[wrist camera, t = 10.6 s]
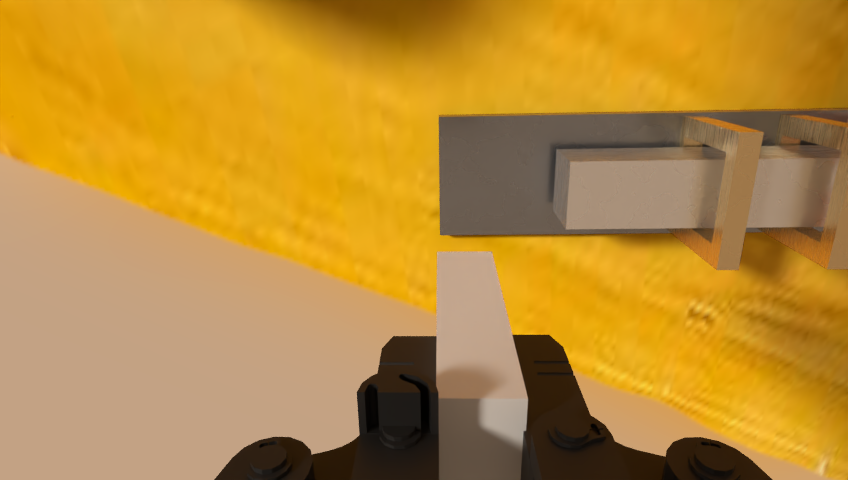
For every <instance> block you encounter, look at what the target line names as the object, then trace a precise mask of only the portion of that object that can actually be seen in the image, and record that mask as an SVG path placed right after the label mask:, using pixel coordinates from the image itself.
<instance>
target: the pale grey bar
mask: <svg viewBox="0 0 848 480" xmlns="http://www.w3.org/2000/svg"><path fill="white" fill-rule="evenodd" d="M840 155H841V150H838V149H834V148H830V147H826V146H822V145H800V146H761V150H760V156H759V161H758V166H757V172H756V177H755V183H754V188H753V194H752V199H751V205H750V210H749V216H748V221H747V226H746V228H760V227H824V224H825V219H826V215H827V211H828V207H829V202H830V198H831V194H832V189H833V185H834V181H835V176H836V172H837V168H838V164H839V159H840ZM725 158H726V152H725V151H722V150H719V149H717V148H714V147H666V148H599V149H556V166H555V183H554V199H553V211H554V213H555V214H556V216H557V217H558V219H559V220H560V221H561V223H562V224H563V226H564V227H565V229H658V228H714V226H715V219H716V213H717V207H718V201H719V195H720V189H721V183H722V176H723V170H724V164H725Z"/></svg>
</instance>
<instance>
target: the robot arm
mask: <svg viewBox="0 0 848 480" xmlns="http://www.w3.org/2000/svg"><path fill="white" fill-rule="evenodd" d="M357 401H358V416H359V431H360V435H359V436H358V437H357V438H356V439H355V440H353V441H352V442H350V443H349V444H346V445H344V446H343V447H339V448H336V449H334V450H330V451H326V452H322V453H317V454H313V455H311V450H310V449H309V448H308V447H307V446H306V445H305V444H304V443H303V442H301V441H299V440H296V439H293V438H291V437H272V438H268V439H263V440H259V441H257V442H255V443H253V444H251V445H248V446H247V447H244V448H243V449H242V450H241V451H240V452H239V453H238V454H237V455H235V456H234V457H233V458H232V459H231V460H230V462H229V463H228V464H227V465H226V466H225V468H224V469H223V470H222V471H221V472H220V474H219V475H218V476H217V477H216V478H215V480H772V479H771V478H770V477H769V476H768V475H767V474H766V473H765V472H764V471H762V470H761V469H760V468H759V467H758V466H757V465H756V464H755V463H754V462H753V461H752V460H751V459H749V458H748V457H746V456H745V455H744V454H742V453H741V452H740V451H738V450H737V449H735V448H733V447H730V446H728V445H726V444H724V443H721V442H719V441H715V440H711V439H706V438H701V437H699V438H698V437H694V438H683V439H680V440H678V441H675V442H673V443H672V444H671V446H670V447H669V448H668V449H667V453H666V457H664V456H659V455H655V454H651V453H647V452H643V451H638V450H635V449H632V448H628V447H625V446H623V445H621V444H619V443H617V442H615V441H614V439H613V436H612V434H611V433H610V432H609V430H608V429H607V428H606V426H605V425H604V424H603V423H601V422H600V421H598V420H597V419H595V418H594V417H592V416H591V415H590V413H589V411H588V408H587V406H586V403H585V401H584V398H583V396H582V393H581V391H580V388H579V386H578V383H577V381H576V378H575V376H573V371H572V368H571V366H570V364H569V361H568V358H567V356H566V353H565V351H564V348H563V347H562V346H561V345H560V344H559V343H558V342H557V341H555V340H554V339H553V338H552V337H551V336H550V335H512V332H511V328H510V324H509V319H508V315H507V311H506V307H505V303H504V299H503V295H502V291H501V287H500V283H499V279H498V275H497V271H496V267H495V263H494V259H493V255H492V252H437V336H393V337H392V338H391V339H390V341H389V342H388V343H387V344H386V345H385V346H384V347H383V348H382V352H381V357H380V365H379V368H378V374H375V375H373V376H371V377H370V378H369V379H367V380H366V381H364V382H363V383H362V384H361V386H360V388H359V390H358V391H357Z"/></svg>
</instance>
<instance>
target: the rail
mask: <svg viewBox="0 0 848 480" xmlns="http://www.w3.org/2000/svg"><path fill="white" fill-rule="evenodd" d="M847 120H848V108H819V109H761V110H703V111H645V112H587V113H529V114H471V115H439V167H440V235H514V234H619V233H672V234H673V235H674V236H676V237H677V238H678V239H679V240H680V241H682V242H683V243H684V244H685V245H687V246H688V247H689V248H690V249H691V250H693V251H694V252H695V253H696V254H698V255H699V256H700V257H701V258H702V259H704V260H705V261H706V262H707V263H709V264H710V265H711V266H712V267H714V268H715V269H716V270H739V265H740V259H741V254H742V248H743V243H744V237H745V232H764V233H765V234H767V235H769V236H771V237H772V238H774V239H776V240H778V241H779V242H781V243H783V244H784V245H786V246H788V247H790V248H791V249H793V250H795V251H797V252H798V253H800V254H802V255H803V256H805V257H807V258H809V259H810V260H812V261H814V262H816V263H817V264H819V265H821V266H822V267H824V268H826V269H848V123H847ZM800 145H822V146H826V147H830V148H834V149H838V150H841V155H840V159H839V164H838V168H837V172H836V176H835V181H834V185H833V189H832V194H831V198H830V202H829V207H828V211H827V215H826V219H825V224H824V227H760V228H746V226H747V221H748V216H749V210H750V205H751V199H752V194H753V188H754V183H755V177H756V172H757V166H758V161H759V156H760V150H761V146H800ZM666 147H714V148H717V149H719V150H722V151H725V152H726V158H725V164H724V170H723V176H722V183H721V189H720V195H719V201H718V207H717V213H716V219H715V226H714V228H658V229H565V227H564V226H563V224H562V223H561V221H560V220H559V219H558V217H557V216H556V214H555V213H554V211H553V199H554V183H555V166H556V149H599V148H666Z"/></svg>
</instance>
